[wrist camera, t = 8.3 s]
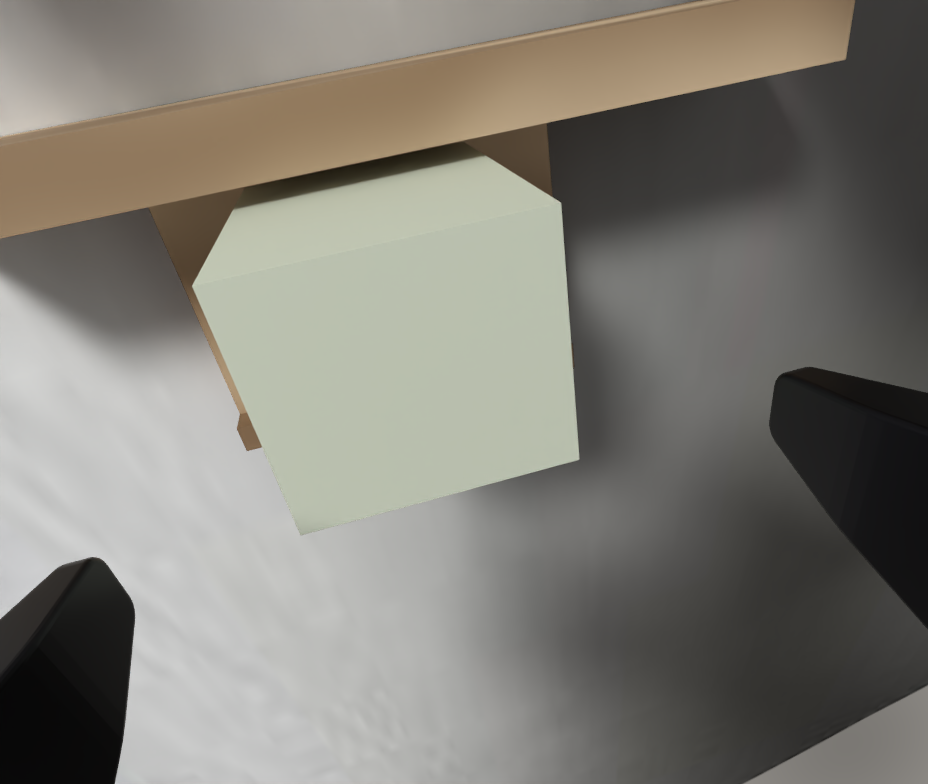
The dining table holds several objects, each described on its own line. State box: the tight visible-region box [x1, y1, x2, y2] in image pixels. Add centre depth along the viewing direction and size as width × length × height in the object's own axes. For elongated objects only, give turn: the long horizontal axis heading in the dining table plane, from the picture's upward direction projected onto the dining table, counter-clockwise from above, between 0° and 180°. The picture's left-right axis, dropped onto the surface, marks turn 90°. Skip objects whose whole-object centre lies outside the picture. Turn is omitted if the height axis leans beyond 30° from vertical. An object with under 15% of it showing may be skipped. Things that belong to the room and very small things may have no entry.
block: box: [192, 142, 579, 535], centre depth 13 cm, size 6×6×7 cm
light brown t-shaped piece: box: [0, 0, 855, 451], centre depth 15 cm, size 9×22×5 cm, turn 99°
